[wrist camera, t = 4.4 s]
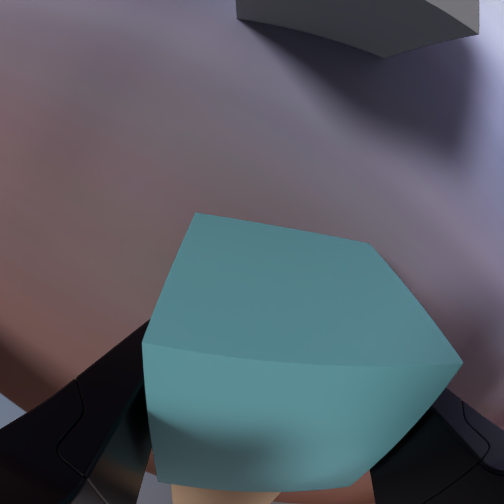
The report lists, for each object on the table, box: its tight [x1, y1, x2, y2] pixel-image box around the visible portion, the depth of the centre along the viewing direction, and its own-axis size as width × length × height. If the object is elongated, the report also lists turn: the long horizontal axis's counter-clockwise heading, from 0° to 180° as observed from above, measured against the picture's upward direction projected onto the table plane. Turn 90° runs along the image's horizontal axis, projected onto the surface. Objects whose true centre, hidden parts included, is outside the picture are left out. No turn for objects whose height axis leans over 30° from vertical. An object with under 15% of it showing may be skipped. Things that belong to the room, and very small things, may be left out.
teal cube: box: [142, 213, 463, 492], centre depth 7 cm, size 5×5×5 cm
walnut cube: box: [171, 484, 281, 504], centre depth 13 cm, size 5×5×5 cm
